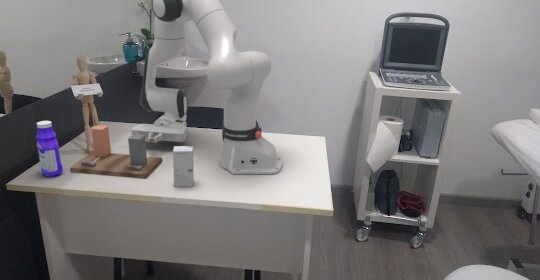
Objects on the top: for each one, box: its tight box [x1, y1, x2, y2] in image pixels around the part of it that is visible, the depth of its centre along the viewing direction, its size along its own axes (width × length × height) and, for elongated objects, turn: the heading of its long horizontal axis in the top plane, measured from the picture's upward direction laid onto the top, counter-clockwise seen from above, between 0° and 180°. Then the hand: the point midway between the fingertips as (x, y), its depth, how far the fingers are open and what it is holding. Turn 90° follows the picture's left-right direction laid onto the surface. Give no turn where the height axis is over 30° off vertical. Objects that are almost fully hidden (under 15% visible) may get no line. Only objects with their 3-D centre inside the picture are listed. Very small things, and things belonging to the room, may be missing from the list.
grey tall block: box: [127, 134, 148, 167], centre depth 135 cm, size 4×4×10 cm
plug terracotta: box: [90, 124, 112, 157], centre depth 142 cm, size 4×4×10 cm
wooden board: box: [69, 151, 163, 179], centre depth 138 cm, size 26×14×3 cm, turn 83°
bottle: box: [35, 120, 64, 178], centre depth 129 cm, size 7×6×17 cm
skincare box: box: [172, 145, 195, 188], centre depth 126 cm, size 6×4×12 cm
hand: (151, 140), depth 146 cm, fingers closed
